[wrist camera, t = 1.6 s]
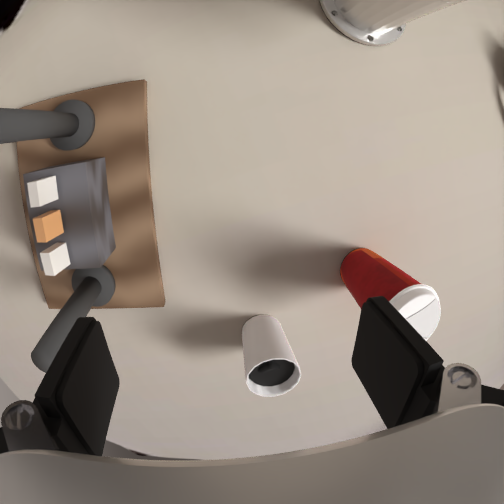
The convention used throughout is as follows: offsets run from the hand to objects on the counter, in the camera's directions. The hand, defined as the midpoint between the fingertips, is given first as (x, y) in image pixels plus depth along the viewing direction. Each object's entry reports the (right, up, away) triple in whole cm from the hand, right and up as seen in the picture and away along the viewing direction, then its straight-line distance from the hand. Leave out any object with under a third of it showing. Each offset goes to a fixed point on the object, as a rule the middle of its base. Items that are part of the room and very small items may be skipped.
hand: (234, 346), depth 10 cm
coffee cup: (+16, +1, +32) cm, 36 cm away
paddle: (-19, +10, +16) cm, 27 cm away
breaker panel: (-20, +9, +24) cm, 32 cm away
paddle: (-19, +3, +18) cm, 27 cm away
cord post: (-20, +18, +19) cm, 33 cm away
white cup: (+2, -8, +34) cm, 35 cm away
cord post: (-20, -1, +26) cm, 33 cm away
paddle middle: (-19, +6, +17) cm, 26 cm away
